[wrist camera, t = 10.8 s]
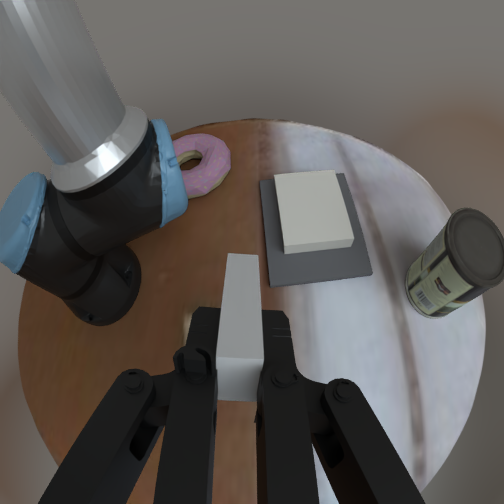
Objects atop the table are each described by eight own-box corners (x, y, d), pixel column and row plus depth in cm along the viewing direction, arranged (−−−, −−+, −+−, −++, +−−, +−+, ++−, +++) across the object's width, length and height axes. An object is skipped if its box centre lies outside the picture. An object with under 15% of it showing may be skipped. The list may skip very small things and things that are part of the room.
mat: (270, 287, 39) (270, 285, 39) (260, 183, 48) (259, 180, 47) (371, 275, 38) (372, 273, 38) (343, 176, 47) (343, 173, 46)
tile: (284, 245, 38) (274, 174, 44) (284, 254, 41) (275, 185, 46) (354, 238, 37) (334, 169, 43) (350, 247, 40) (332, 180, 46)
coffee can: (461, 271, 36) (509, 229, 24) (449, 328, 33) (505, 300, 20) (413, 246, 39) (451, 193, 27) (396, 303, 36) (441, 263, 23)
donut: (184, 220, 47) (175, 203, 42) (144, 179, 53) (134, 163, 48) (250, 168, 50) (247, 148, 46) (202, 136, 56) (196, 119, 52)
